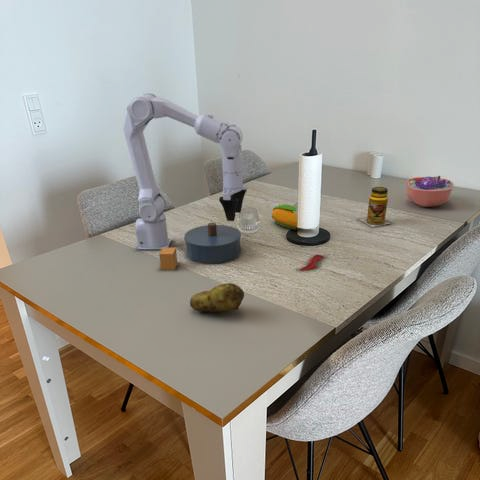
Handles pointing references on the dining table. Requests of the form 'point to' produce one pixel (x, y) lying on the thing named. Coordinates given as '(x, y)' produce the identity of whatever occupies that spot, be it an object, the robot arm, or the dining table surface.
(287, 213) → the corn
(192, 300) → the potato
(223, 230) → the pot lid
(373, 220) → the condiment
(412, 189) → the cell model
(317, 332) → the dining table surface
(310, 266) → the cayenne pepper
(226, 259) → the pot
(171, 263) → the wooden brick
